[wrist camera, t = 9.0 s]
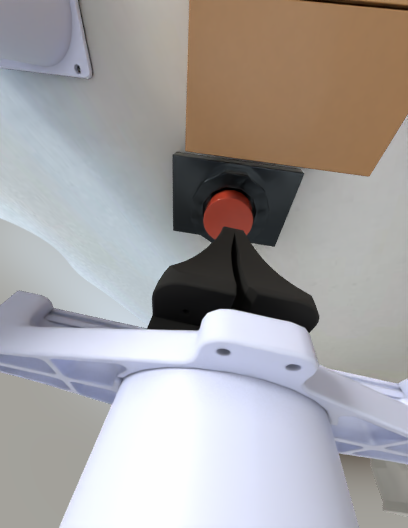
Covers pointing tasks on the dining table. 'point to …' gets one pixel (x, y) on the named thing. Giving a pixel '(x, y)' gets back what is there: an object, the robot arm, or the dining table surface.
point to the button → (228, 213)
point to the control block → (232, 178)
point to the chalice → (392, 485)
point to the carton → (296, 81)
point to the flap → (377, 2)
